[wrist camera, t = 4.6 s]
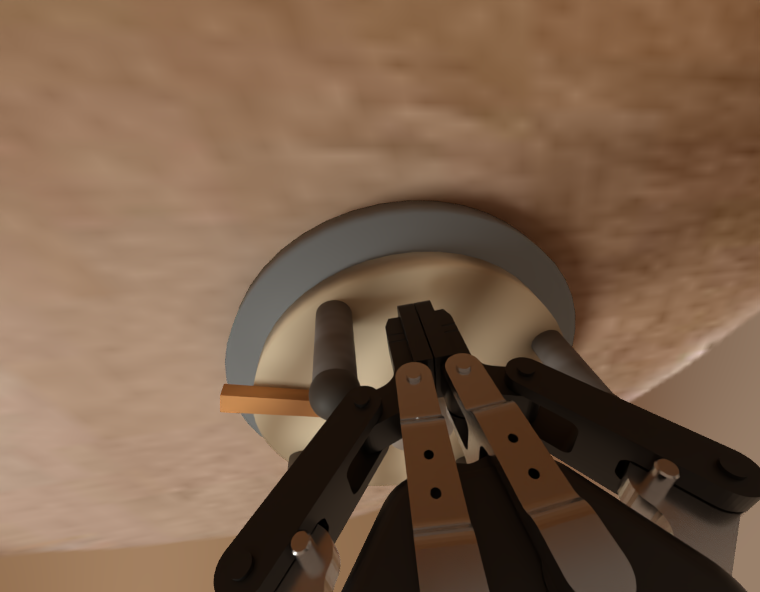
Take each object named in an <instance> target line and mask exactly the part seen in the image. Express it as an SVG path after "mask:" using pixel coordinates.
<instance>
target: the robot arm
mask: <svg viewBox="0 0 760 592" xmlns="http://www.w3.org/2000/svg"><path fill="white" fill-rule="evenodd" d="M397 311H398V317H396V318H390V319H388V321H387V323H386V326H385V329H386V336H387V342H388V349H389V354H390V359H391V363H392V368H393V373H394V375H393V377H392V379H391V380H390V381H389V382H388V383H387V384H386V385H384V386H382V387H380V388H378V389H375V388H373V387H370V386H359V387H356V388H354V389H352V390H351V391H349V392H348V393H347V394H346V396H345V397H344V398H343V400H342V401H341V402H340V403H339V405H338V406H337V407H336V409H335V410H334V411H333V412H332V414H331V415H330V416H329V418H328V419H327V420H326V422H325V423H324V424H323V425H322V427H321V428H320V429H319V431H318V432H317V433H316V434H315V436H314V437H313V438H312V440H311V441H310V442H309V443H308V445H307V446H306V447H305V449H304V450H303V451H302V452H301V454H300V455H299V456H298V458H297V459H296V460H295V462H294V463H293V464H292V465H291V467H290V468H289V469H288V471H287V472H286V473H285V474H284V476H283V477H282V478H281V480H280V481H279V482H278V483H277V485H276V486H275V487H274V489H273V490H272V491H271V492H270V494H269V495H268V496H267V498H266V499H265V500H264V502H263V503H262V504H261V505H260V507H259V508H258V509H257V511H256V512H255V513H254V514H253V516H252V517H251V518H250V520H249V521H248V522H247V523H246V525H245V526H244V527H243V529H242V530H241V531H240V532H239V534H238V535H237V536H236V538H235V539H234V540H233V542H232V543H231V544H230V545H229V547H228V548H227V549H226V551H225V552H224V553H223V555H222V557H221V558H220V560H219V562H218V564H217V567H216V571H215V574H214V589H215V592H333V590H334V585H335V583H336V581H337V578H338V575H339V571H340V556H339V553H338V550H337V548H336V546H335V542H336V540H337V538H338V537H339V535H340V533H341V531H342V530H343V528H344V526H345V525H346V523H347V521H348V519H349V518H350V516H351V514H352V512H353V511H354V509H355V507H356V505H357V504H358V502H359V500H360V498H361V497H362V495H363V493H364V491H365V490H366V488H367V486H368V485H369V483H370V481H371V479H372V478H373V476H374V474H375V472H376V471H377V469H378V467H379V465H380V464H381V462H382V460H383V458H384V457H385V455H386V453H387V451H388V449H389V446H390V445H391V444H393V443H395V442H397V441H399V440H400V439H402V440H403V449H404V457H405V466H406V474H407V479H406V480H404V481H403V482H401V483H400V484H399V485H398V486H397V487H395V488H394V490H393V491H392V492H391V493H390V494H389V496H388V497H387V499H386V500H385V502H384V504H383V506H382V508H381V510H380V512H379V514H378V516H377V518H376V520H375V522H374V524H373V526H372V529H371V531H370V533H369V535H368V537H367V539H366V541H365V543H364V545H363V547H362V549H361V552H360V554H359V556H358V558H357V560H356V562H355V564H354V566H353V568H352V571H351V573H350V575H349V577H348V579H347V581H346V583H345V585H344V587H343V589H342V591H341V592H747V591H746V590H745V589H744V588H743V587H742V586H741V584H739V583H738V582H737V581H736V580H735V579H734V578H733V577H732V570H733V563H734V556H735V549H736V541H737V535H738V527H739V521H740V517H741V516H742V515H743V514H744V513H746V511H748V510H749V509H750V508H751V507H752V506H753V505H754V504H755V503H757V502H758V501H759V500H760V467H759V466H758V465H757V464H756V463H754V462H753V461H752V460H751V459H749V458H748V457H746V456H745V455H743V454H741V453H739V452H737V451H736V450H733V449H731V448H729V447H727V446H725V445H722V444H720V443H718V442H716V441H713V440H711V439H709V438H707V437H704V436H702V435H700V434H698V433H696V432H693V431H691V430H689V429H687V428H685V427H682V426H680V425H678V424H676V423H673V422H671V421H669V420H667V419H664V418H662V417H660V416H658V415H655V414H653V413H651V412H649V411H647V410H644V409H642V408H640V407H638V406H636V405H633V404H631V403H629V402H627V401H624V400H622V399H620V398H618V397H616V396H613V395H611V394H609V393H607V392H604V391H602V390H600V389H598V388H596V387H593V386H591V385H589V384H587V383H584V382H582V381H580V380H578V379H576V378H573V377H571V376H569V375H567V374H564V373H562V372H560V371H558V370H556V369H553V368H551V367H549V366H547V365H544V364H542V363H540V362H538V361H536V360H533V359H530V358H526V357H517V358H514V359H511V360H510V361H509V362H508V363H507V364H506V367H505V366H492V365H486V364H483V363H481V362H480V360H479V359H478V358H476V357H475V356H473V355H471V353H470V351H469V349H468V347H467V345H466V343H465V341H464V339H463V337H462V336H461V334H460V332H459V330H458V328H457V326H456V324H455V322H454V320H453V318H452V316H451V314H449V313H448V312H447V311H445V310H444V309H440V310H434V308H433V306H432V304H431V301H430V300H427V301H422V302H416V303H414V304H413V303H411V304H405V305H400V306H397ZM441 397H444V400H445V403H446V414H447V416H448V419H449V421H450V423H451V425H452V428H453V430H454V432H455V435H456V437H457V439H458V441H459V444H460V446H461V448H462V450H463V453H464V455H465V458H466V462H467V463H456V461H455V457H454V453H453V449H452V445H451V441H450V437H449V433H448V429H447V425H446V421H445V418H444V416H442V414H441V410H440V406H439V401H438V398H441ZM550 454H552V455H553V456H555V457H556V458H558V459H560V460H561V461H563V462H565V463H566V464H568V465H569V466H571V467H573V468H574V469H576V470H578V471H579V472H581V473H583V474H584V475H586V476H588V477H589V478H591V479H592V480H594V481H596V482H598V483H599V484H601V485H602V486H604V487H606V488H607V489H609V490H611V491H612V492H614V493H616V494H617V495H618V496H619V499H620V500H618V499H616V498H615V497H613V496H612V495H610V494H609V493H607V492H606V491H604V490H603V489H601V488H599V487H598V486H596V485H595V484H593V483H592V482H590V481H589V480H587V479H586V478H584V477H583V476H581V475H580V474H578V473H576V472H575V471H573V470H572V469H570V468H569V467H567V466H565V465H564V464H562V463H560V462H557V461H555V460H554V459H553V458H552V456H551V455H550Z"/></svg>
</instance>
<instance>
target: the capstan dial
mask: <svg viewBox="0 0 760 592" xmlns="http://www.w3.org/2000/svg"><path fill="white" fill-rule="evenodd" d="M427 300H430V301H431V304H432V306H433V308H434V310H440V309H444V310H445V311H447V312H448V313H449V314H451V316H452V318H453V320H454V322H455V324H456V326H457V328H458V330H459V332H460V334H461V336H462V337H463V339H464V341H465V343H466V345H467V347H468V349H469V351H470V353H471V355H473V356H475V357H476V358H478V359H479V360H480V362H481V363H483V364H486V365H492V366H505V367H506V364H507V363H508V362H509V361H510V360H511V359H514V358H517V357H526V358H530V359H533V360H536V361H538V362H540V363H542V364H544V365H547V366H549V367H551V368H553V369H556V370H558V371H560V372H562V373H564V374H567V375H569V376H571V377H573V378H576V379H578V380H580V381H582V382H584V383H587V384H589V385H591V386H593V387H596V388H598V389H600V390H602V391H604V392H607V393H609V394H611V395H613V396H616V395H614V394H613V393H612V392H611V391H610V390H609V388H608V387H607V386H606V385H605V384H604V383H603V382H602V380H601V379H600V378H599V377H598V376H597V375H596V374H595V372H594V371H593V370H592V369H591V368H590V367H589V366H588V365H587V363H586V362H585V361H584V360H583V359H582V358H581V357H580V355H579V354H578V353H577V352H576V351H575V350H574V349H573V347H572V346H571V345H570V344H569V343H568V342H567V341H566V339H565V338H564V337H563V334H562V332H561V330H560V328H559V326H558V323H557V321H556V320H555V318H554V317H553V316H552V314H551V313H550V312H549V310H548V309H547V308H546V307H545V306H544V304H543V303H542V302H541V301H540V300H539V299H538V298H537V297H536V296H535V295H534V294H533V292H532V291H531V290H530V289H529V288H528V287H527V286H526V285H524V284H523V283H522V282H521V281H520V280H519V279H518V278H517V277H515V276H514V275H512V274H510V273H509V272H507V271H506V270H504V269H502V268H501V267H499V266H496V265H494V264H491V263H489V262H487V261H484V260H482V259H478V258H474V257H470V256H466V255H462V254H454V253H446V252H410V253H402V254H394V255H388V256H384V257H380V258H376V259H372V260H368V261H365V262H362V263H360V264H357V265H354V266H352V267H349V268H346V269H344V270H342V271H340V272H338V273H336V274H334V275H332V276H330V277H328V278H326V279H324V280H323V281H321V282H320V283H318V284H317V285H315V286H314V287H312V288H311V289H309V290H308V291H307V292H305V293H304V294H303V295H302V296H300V297H299V298H298V299H297V300H296V301H295V302H294V303H293V304H292V305H290V306H289V307H288V308H287V310H286V311H285V312H284V313H283V315H282V316H281V317H280V318H279V319H278V321H277V322H276V323H275V325H274V327H273V328H272V330H271V332H270V333H269V335H268V337H267V339H266V341H265V344H264V346H263V349H262V352H261V355H260V359H259V363H258V367H257V371H256V375H255V380H254V385H253V386H248V385H234V384H224V386H223V389H222V392H221V395H220V412H229V413H248V414H254V417H255V422H256V424H257V426H258V428H259V430H260V433H261V435H262V436H263V437H264V439H265V440H266V442H267V443H268V444H269V446H270V447H271V448H272V449H273V450H274V451H275V452H276V453H277V454H278V455H279V456H281V457H282V458H283V459H285V460H286V461H288V462H289V463H288V469H289V468H290V467H291V465H292V464H293V463H294V462H295V460H296V459H297V458H298V456H299V455H300V454H301V452H302V451H303V450H304V449H305V447H306V446H307V445H308V443H309V442H310V441H311V440H312V438H313V437H314V436H315V434H316V433H317V432H318V431H319V429H320V428H321V427H322V425H323V424H324V423H325V422H326V420H327V419H328V418H329V416H330V415H331V414H332V412H333V411H334V410H335V409H336V407H337V406H338V405H339V403H340V402H341V401H342V400H343V398H344V397H345V396H346V394H347V393H348V392H349V391H351V390H352V389H354V388H356V387H359V386H370V387H373V388H375V389H378V388H380V387H382V386H384V385H386V384H387V383H388V382H389V381H390V380H391V379H392V377H393V375H394V373H393V368H392V363H391V359H390V354H389V349H388V342H387V336H386V329H385V326H386V323H387V321H388V319H390V318H396V317H398V311H397V306H400V305H405V304H411V303H413V304H414V303H416V302H422V301H427ZM616 397H618V396H616ZM618 398H619V397H618ZM438 401H439V406H440V410H441V414H442V416H444V418H445V421H446V425H447V429H448V433H449V437H450V441H451V445H452V449H453V453H454V457H455V461H456V463H467V462H466V458H465V455H464V453H463V450H462V448H461V446H460V444H459V441H458V439H457V437H456V435H455V432H454V430H453V428H452V425H451V423H450V421H449V419H448V416H447V414H446V403H445V400H444V397H441V398H438ZM406 479H407V474H406V466H405V457H404V449H403V440H402V439H400V440H399V441H397V442H395V443H393V444H391V445H390V446H389V449H388V451H387V453H386V455H385V457H384V458H383V460H382V462H381V464H380V465H379V467H378V469H377V471H376V472H375V474H374V476H373V478H372V479H371V481H370V483H369V485H368V486H390V485H399V484H400V483H401V482H403V481H404V480H406Z"/></svg>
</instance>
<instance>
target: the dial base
mask: <svg viewBox="0 0 760 592" xmlns="http://www.w3.org/2000/svg"><path fill="white" fill-rule="evenodd" d="M410 252H446V253H454V254H462V255H466V256H470V257H474V258H478V259H482V260H484V261H487V262H489V263H491V264H494V265H496V266H499V267H501V268H502V269H504V270H506V271H507V272H509V273H510V274H512V275H514V276H515V277H517V278H518V279H519V280H520V281H521V282H522V283H523V284H524V285H526V286H527V287H528V288H529V289H530V290H531V291H532V292H533V294H534V295H535V296H536V297H537V298H538V299H539V300H540V301H541V302H542V303H543V304H544V306H545V307H546V308H547V309H548V310H549V312H550V313H551V314H552V316H553V317H554V318H555V320H556V321H557V323H558V326H559V328H560V330H561V332H562V334H563V337H564V338H565V339H566V341H567V342H568V343H569V344H570V345H571V346H572V345H573V339H574V333H575V309H574V304H573V299H572V295H571V292H570V290H569V287H568V285H567V283H566V280H565V278H564V277H563V275H562V274H561V272H560V271H559V269H558V268H557V266H556V265H555V263H554V262H553V261H552V260H551V259H550V258H549V257H548V256H547V255H546V254H545V253H544V252H543V251H542V250H541V249H540V248H539V247H538V246H536V245H535V244H534V243H533V242H532V241H531V240H529V239H528V238H527V237H526V236H525V235H523V234H522V233H521V232H519V231H518V230H516V229H515V228H514V227H512V226H511V225H509V224H508V223H506V222H505V221H502V220H500V219H498V218H496V217H494V216H492V215H490V214H488V213H486V212H483V211H480V210H476V209H473V208H470V207H467V206H463V205H458V204H452V203H445V202H439V201H401V202H392V203H384V204H378V205H374V206H370V207H366V208H362V209H358V210H354V211H351V212H348V213H346V214H343V215H341V216H338V217H335V218H333V219H330V220H328V221H325V222H324V223H322V224H320V225H318V226H316V227H315V228H313V229H311V230H309V231H307V232H305V233H304V234H302V235H301V236H299V237H298V238H297V239H295V240H294V241H293V242H291V243H290V244H288V245H287V246H286V247H284V248H283V249H282V250H281V251H280V252H279V253H278V254H277V255H276V256H275V257H274V258H273V259H272V260H271V261H270V262H269V263H268V264H267V265H266V266H264V268H263V269H262V270H261V272H260V273H259V274H258V276H257V277H256V278H255V280H254V281H253V283H252V284H251V285H250V287H249V289H248V291H247V293H246V295H245V297H244V299H243V301H242V303H241V305H240V307H239V310H238V313H237V315H236V318H235V320H234V323H233V326H232V329H231V333H230V336H229V339H228V342H227V349H226V359H225V367H226V378H227V383H228V384H234V385H248V386H253V385H254V380H255V375H256V371H257V367H258V363H259V359H260V355H261V352H262V349H263V346H264V344H265V341H266V339H267V337H268V335H269V333H270V332H271V330H272V328H273V327H274V325H275V323H276V322H277V321H278V319H279V318H280V317H281V316H282V315H283V313H284V312H285V311H286V310H287V308H288V307H289V306H290V305H292V304H293V303H294V302H295V301H296V300H297V299H298V298H299V297H300V296H302V295H303V294H304V293H305V292H307V291H308V290H309V289H311V288H312V287H314V286H315V285H317V284H318V283H320V282H321V281H323V280H324V279H326V278H328V277H330V276H332V275H334V274H336V273H338V272H340V271H342V270H344V269H346V268H349V267H352V266H354V265H357V264H360V263H362V262H365V261H368V260H372V259H376V258H380V257H384V256H388V255H394V254H402V253H410ZM241 415H242V416H243V417H244V419H245V420H246V421H247V423H248V424H249V425H250V426H251V427H252V428H253V429H254V430H255V431H256V432H257V433H258V434H259V435H260V436H262V435H261V433H260V430H259V428H258V426H257V424H256V422H255V417H254V414H248V413H241ZM262 437H263V436H262ZM263 438H264V437H263Z"/></svg>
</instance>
